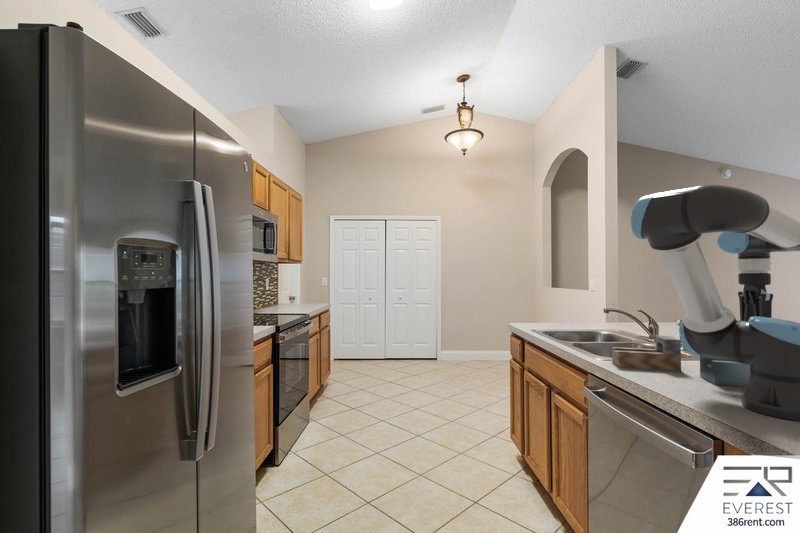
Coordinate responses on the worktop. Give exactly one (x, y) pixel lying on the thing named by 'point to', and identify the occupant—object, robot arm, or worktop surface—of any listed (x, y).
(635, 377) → the worktop surface
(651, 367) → the wooden box
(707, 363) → the v block
